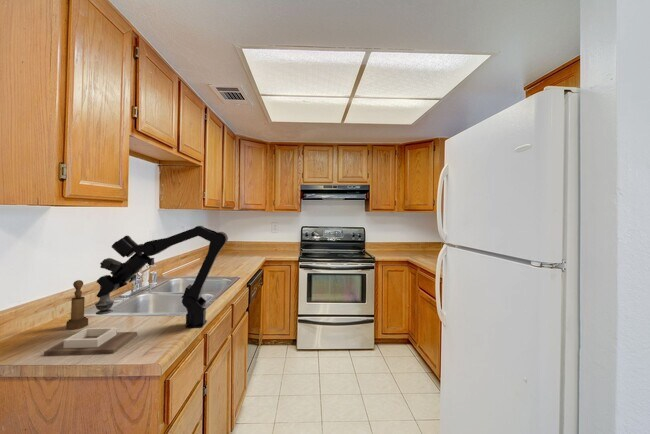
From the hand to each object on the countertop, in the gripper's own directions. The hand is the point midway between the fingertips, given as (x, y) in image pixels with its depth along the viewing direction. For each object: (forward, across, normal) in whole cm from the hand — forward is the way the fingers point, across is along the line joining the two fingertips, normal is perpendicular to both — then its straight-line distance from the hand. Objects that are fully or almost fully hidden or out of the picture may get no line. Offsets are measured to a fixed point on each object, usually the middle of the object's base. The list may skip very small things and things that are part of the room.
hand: (100, 295), depth 109 cm
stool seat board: (+6, +13, +13) cm, 19 cm away
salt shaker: (+4, 0, +6) cm, 7 cm away
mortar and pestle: (+17, -5, +2) cm, 18 cm away
